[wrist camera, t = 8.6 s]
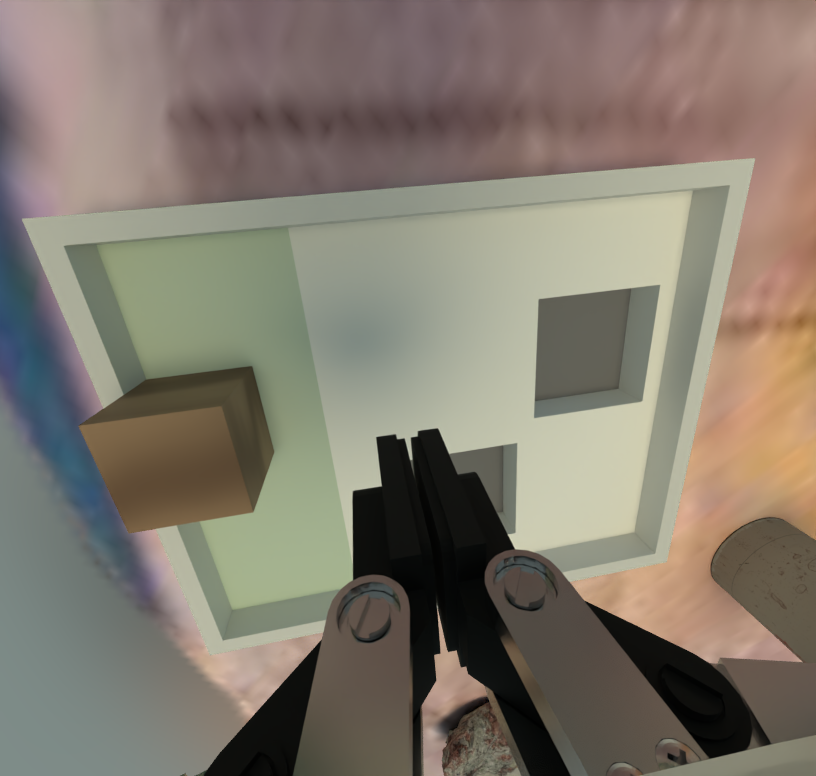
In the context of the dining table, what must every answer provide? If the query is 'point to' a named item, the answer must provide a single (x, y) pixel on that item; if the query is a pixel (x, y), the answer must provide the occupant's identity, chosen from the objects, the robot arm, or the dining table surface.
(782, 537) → the thermos bottle
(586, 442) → the board
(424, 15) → the dining table surface
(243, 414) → the walnut block
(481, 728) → the mineral rock
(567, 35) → the dining table surface
